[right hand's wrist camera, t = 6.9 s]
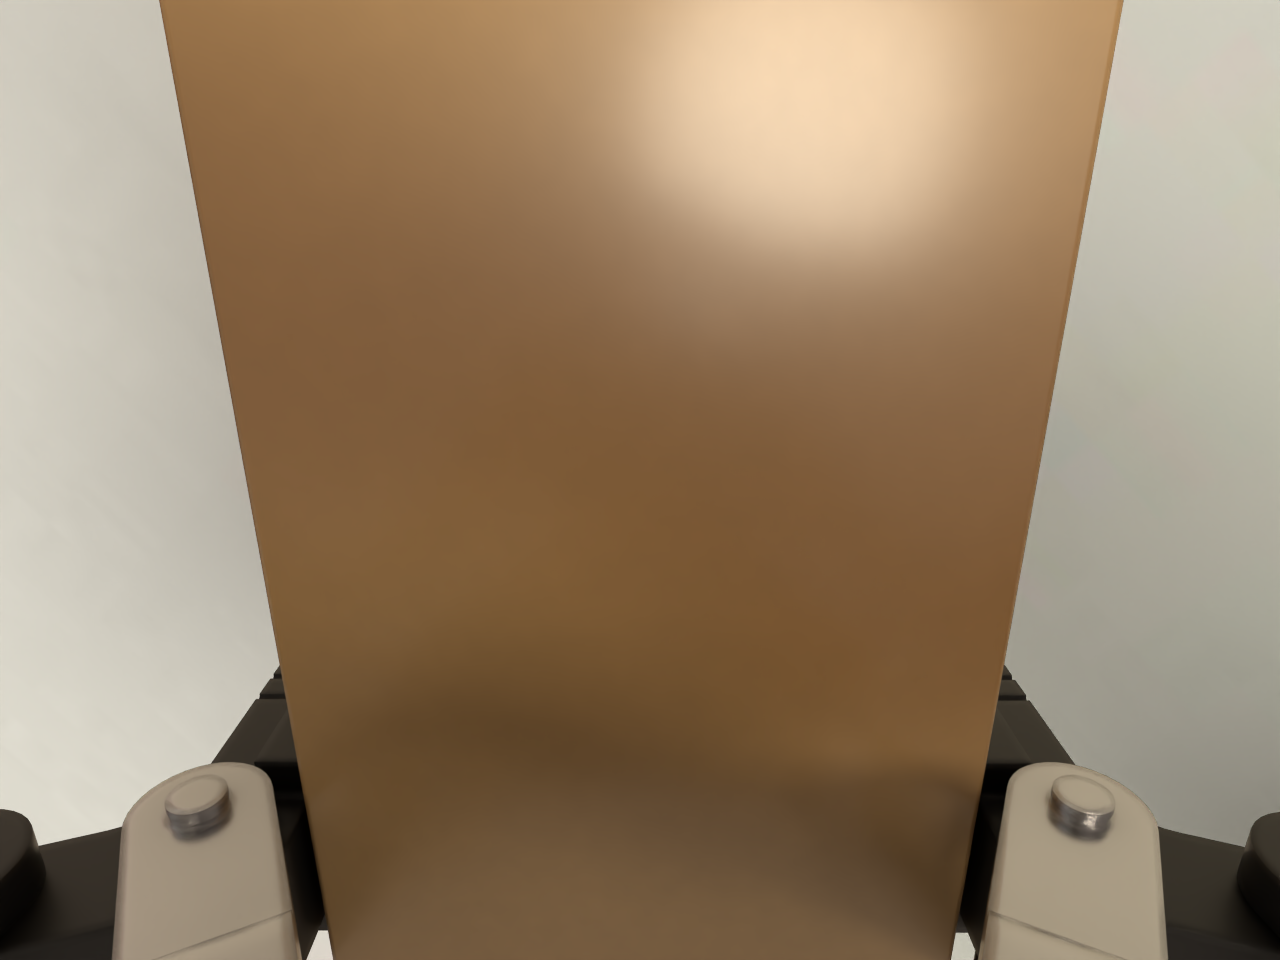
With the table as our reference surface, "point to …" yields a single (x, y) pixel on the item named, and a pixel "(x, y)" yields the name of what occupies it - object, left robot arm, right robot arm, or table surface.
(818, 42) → the box
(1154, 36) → the table surface
